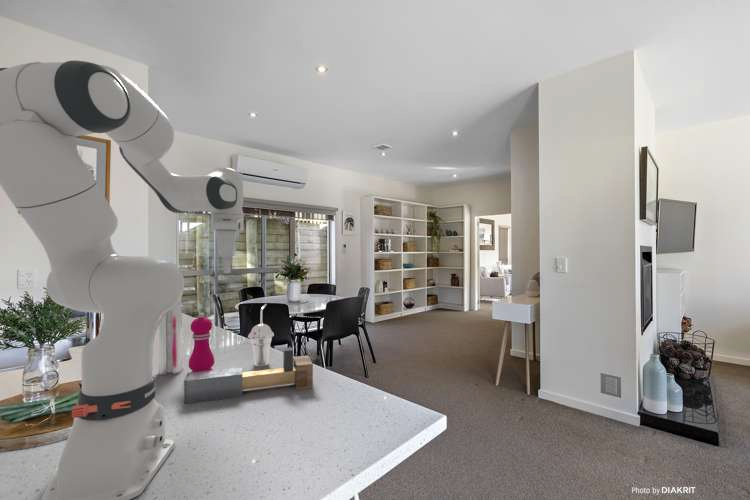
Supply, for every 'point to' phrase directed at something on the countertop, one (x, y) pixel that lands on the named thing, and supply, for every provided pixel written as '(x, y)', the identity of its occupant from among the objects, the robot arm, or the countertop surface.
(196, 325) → the pepper mill
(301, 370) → the socket block
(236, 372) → the sleeve
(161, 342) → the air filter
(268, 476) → the countertop surface
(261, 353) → the cup with straw
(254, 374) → the gold post block
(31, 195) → the robot arm
